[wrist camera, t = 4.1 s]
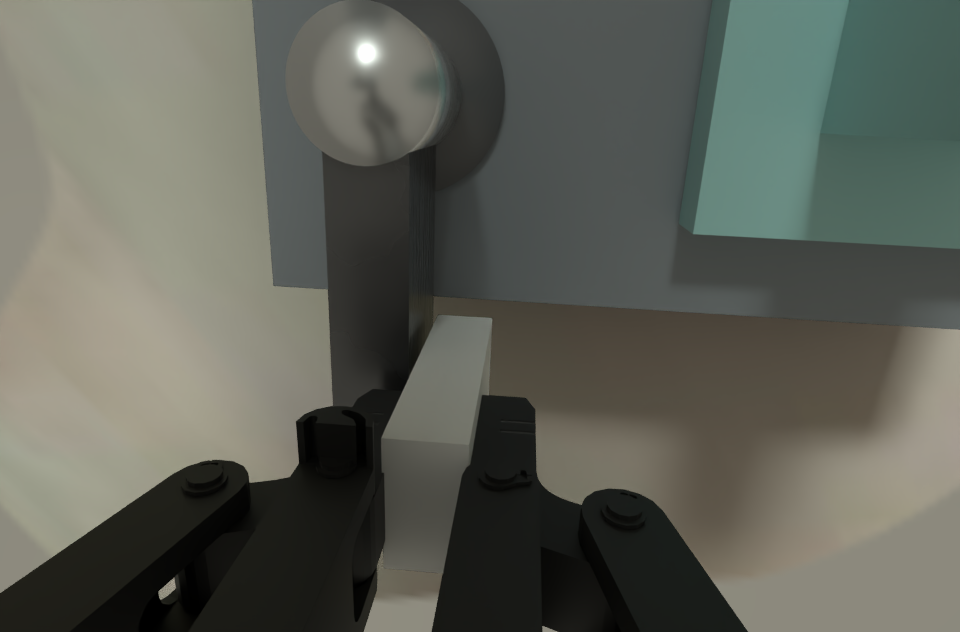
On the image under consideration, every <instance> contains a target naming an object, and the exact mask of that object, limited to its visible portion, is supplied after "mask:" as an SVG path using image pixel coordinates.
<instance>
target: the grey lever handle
mask: <svg viewBox="0 0 960 632" xmlns="http://www.w3.org/2000/svg"><path fill="white" fill-rule="evenodd" d="M285 83H286V92H287V97H288V101H289V105H290V108H291V110H292V113H293V116H294V118H295V119H296V121H297V123H298V125H299V127H300V128H301V130H302V131H303V133H304V134H305V135H306V136H307V138H308V139H309V140H310V141H311V142H312V143H313V144H314V145H315V146H316V147H317V148H319V149H320V150H321V151H322V162H323V185H324V208H325V231H326V254H327V277H328V300H329V323H330V346H331V369H332V392H333V406H348V407H353V405H354V404H355V402H356V400H357V399H358V398H359V397H361V396H362V395H364V394H365V393H367V392H369V391H370V390H372V389H381V390H396V391H403V390H404V387H405V385H406V383H407V381H408V379H409V377H410V374H411V372H412V370H413V368H414V366H415V364H416V361H417V359H418V357H419V355H420V353H421V351H422V348H423V346H424V344H425V342H426V340H427V338H428V335H429V333H430V331H431V329H432V327H433V296H434V237H435V178H436V145H437V144H439V143H440V142H441V141H442V140H443V139H445V137H446V136H447V135H448V134H449V133H450V131H451V130H452V129H453V127H454V125H455V123H456V121H457V119H458V116H459V113H460V109H461V104H462V86H461V80H460V76H459V73H458V70H457V68H456V65H455V64H454V62H453V60H452V58H451V57H450V56H449V54H448V53H447V52H446V51H445V50H444V48H443V47H442V46H441V45H439V44H438V43H437V42H436V41H434V40H433V39H432V38H431V37H429V36H428V35H427V34H426V33H424V32H423V31H422V30H421V29H419V28H418V27H417V26H416V25H414V24H413V23H412V22H411V21H410V20H408V19H407V18H406V17H404V16H403V15H402V14H401V13H399V12H398V11H396V10H394V9H392V8H391V7H389V6H386V5H384V4H381V3H378V2H374V1H371V0H345V1H340V2H337V3H334V4H331V5H329V6H327V7H325V8H323V9H321V10H319V11H318V12H317V13H315V14H314V15H313V16H312V17H311V18H310V19H309V20H308V21H307V22H306V23H305V24H304V25H303V26H302V28H301V29H300V30H299V32H298V33H297V35H296V37H295V39H294V41H293V43H292V46H291V48H290V51H289V55H288V59H287V64H286V72H285Z"/></svg>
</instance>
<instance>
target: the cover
mask: <svg viewBox="0 0 960 632" xmlns="http://www.w3.org/2000/svg"><path fill="white" fill-rule="evenodd" d="M679 224H680V225H681V226H682V227H684V228H685V229H687V230H688V231H689V232H691V233H692V234H700V235H718V236H736V237H754V238H772V239H790V240H808V241H826V242H844V243H862V244H880V245H898V246H916V247H934V248H952V249H960V0H712V7H711V13H710V20H709V27H708V33H707V40H706V46H705V53H704V60H703V66H702V73H701V79H700V86H699V93H698V99H697V106H696V112H695V119H694V126H693V132H692V139H691V145H690V152H689V159H688V165H687V172H686V178H685V185H684V192H683V198H682V205H681V211H680V218H679Z"/></svg>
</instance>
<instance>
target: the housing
mask: <svg viewBox="0 0 960 632" xmlns="http://www.w3.org/2000/svg"><path fill="white" fill-rule="evenodd" d="M340 1H345V0H252V4H253V17H254V30H255V44H256V57H257V71H258V84H259V98H260V111H261V124H262V138H263V151H264V165H265V178H266V192H267V205H268V218H269V232H270V245H271V259H272V272H273V286H283V287H299V288H314V289H328V277H327V254H326V231H325V208H324V185H323V162H322V151H321V150H320V149H319V148H317V147H316V146H315V145H314V144H313V143H312V142H311V141H310V140H309V139H308V138H307V136H306V135H305V134H304V133H303V131H302V130H301V128H300V127H299V125H298V123H297V121H296V119H295V118H294V116H293V113H292V110H291V108H290V105H289V101H288V97H287V92H286V83H285V72H286V64H287V59H288V55H289V51H290V48H291V46H292V43H293V41H294V39H295V37H296V35H297V33H298V32H299V30H300V29H301V28H302V26H303V25H304V24H305V23H306V22H307V21H308V20H309V19H310V18H311V17H312V16H313V15H314V14H315V13H317V12H318V11H319V10H321V9H323V8H325V7H327V6H329V5H331V4H334V3H337V2H340ZM371 1H374V2H378V3H381V4H384V5H386V6H389V7H391V8H392V9H394V10H396V11H398V12H399V13H401V14H402V15H403V16H404V17H406V18H407V19H408V20H410V21H411V22H412V23H413V24H414V25H416V26H417V27H418V28H419V29H421V30H422V31H423V32H424V33H426V34H427V35H428V36H429V37H431V38H432V39H433V40H434V41H436V42H437V43H438V44H439V45H441V46H442V47H443V48H444V50H445V51H446V52H447V53H448V54H449V56H450V57H451V58H452V60H453V62H454V64H455V65H456V68H457V70H458V73H459V76H460V80H461V86H462V104H461V109H460V113H459V116H458V119H457V121H456V123H455V125H454V127H453V129H452V130H451V131H450V133H449V134H448V135H447V136H446V137H445V139H443V140H442V141H441V142H440V143H439V144H437V145H436V178H435V237H434V296H440V297H456V298H471V299H487V300H503V301H518V302H534V303H550V304H566V305H581V306H597V307H613V308H628V309H644V310H660V311H675V312H691V313H707V314H723V315H738V316H754V317H770V318H785V319H801V320H817V321H833V322H848V323H864V324H880V325H895V326H911V327H927V328H942V329H958V330H960V249H952V248H934V247H916V246H898V245H880V244H862V243H844V242H826V241H808V240H790V239H772V238H754V237H736V236H718V235H700V234H692V233H691V232H689V231H688V230H687V229H685V228H684V227H682V226H681V225H680V224H679V218H680V211H681V205H682V198H683V192H684V185H685V178H686V172H687V165H688V159H689V152H690V145H691V139H692V132H693V126H694V119H695V112H696V106H697V99H698V93H699V86H700V79H701V73H702V66H703V60H704V53H705V46H706V40H707V33H708V27H709V20H710V13H711V7H712V0H371Z"/></svg>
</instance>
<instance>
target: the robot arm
mask: <svg viewBox="0 0 960 632" xmlns="http://www.w3.org/2000/svg"><path fill="white" fill-rule="evenodd" d="M491 339H492V318H484V317H467V316H451V315H438V316H437V318H436V320H435V322H434V325H433V327H432V329H431V331H430V333H429V335H428V338H427V340H426V342H425V344H424V346H423V348H422V351H421V353H420V355H419V357H418V359H417V361H416V364H415V366H414V368H413V370H412V372H411V374H410V377H409V379H408V381H407V383H406V385H405V387H404V390H403V391H396V390H381V389H372V390H370V391H369V392H367V393H365V394H364V395H362V396H361V397H359V398H358V399H357V400H356V402H355V404H354V405H353V407H348V406H330V407H325V408H321V409H316V410H314V411H311V412H309V413H307V414H304V415H303V416H302V417H301V418H300V419H298V420H297V421H296V427H297V440H298V454H299V464H298V466H297V467H296V469H295V470H294V472H293V473H292V475H291V477H288V478H284V479H278V480H272V481H263V482H255V483H249V476H248V472H247V471H246V469H245V468H244V466H242V465H240V464H238V463H235V462H233V461H224V460H212V461H203V462H200V463H197V464H194V465H191V466H187V467H185V468H184V469H182V470H180V471H178V472H176V473H174V474H172V475H171V476H170V477H168V478H167V479H165V480H164V481H162V482H161V483H159V484H158V485H156V486H155V487H154V488H152V489H151V490H149V491H148V492H146V493H145V494H143V495H142V496H141V497H139V498H138V499H136V500H135V501H133V502H132V503H130V504H129V505H127V506H126V507H125V508H123V509H122V510H120V511H119V512H117V513H116V514H114V515H113V516H112V517H110V518H109V519H107V520H106V521H104V522H103V523H101V524H100V525H98V526H97V527H96V528H94V529H93V530H91V531H90V532H88V533H87V534H85V535H84V536H83V537H81V538H80V539H78V540H77V541H75V542H74V543H72V544H71V545H69V546H68V547H67V548H65V549H64V550H62V551H61V552H59V553H58V554H56V555H55V556H54V557H52V558H51V559H49V560H48V561H46V562H45V563H43V564H42V565H40V566H39V567H38V568H36V569H35V570H33V571H32V572H30V573H29V574H28V575H26V576H25V577H23V578H22V579H20V580H19V581H17V582H16V583H15V584H13V585H12V586H10V587H9V588H7V589H6V590H4V591H3V592H2V593H0V632H364V628H365V625H366V622H367V619H368V616H369V613H370V610H371V607H372V603H373V600H374V597H375V594H376V591H377V563H378V560H379V558H380V555H381V552H382V549H383V562H384V568H386V569H397V570H408V571H420V572H431V573H442V574H443V576H442V581H441V586H440V591H439V596H438V602H437V607H436V612H435V618H434V622H433V628H432V632H542V626H545V627H548V628H550V629H553V630H555V631H558V632H748V631H747V630H746V628H745V627H744V625H743V624H742V623H741V621H740V620H739V618H738V617H737V616H736V614H735V613H734V611H733V610H732V608H731V607H730V606H729V604H728V603H727V601H726V600H725V598H724V597H723V596H722V595H721V593H720V591H719V590H718V589H717V587H716V586H715V584H714V583H713V581H712V580H711V579H710V577H709V576H708V574H707V573H706V572H705V570H704V569H703V567H702V566H701V564H700V563H699V562H698V560H697V559H696V557H695V556H694V554H693V553H692V552H691V550H690V549H689V547H688V546H687V545H686V543H685V542H684V540H683V539H682V537H681V536H680V535H679V533H678V532H677V530H676V529H675V527H674V526H673V525H672V523H671V522H670V520H669V519H668V518H667V516H666V515H665V513H664V512H663V511H662V510H661V509H660V508H659V507H658V506H657V505H656V504H655V503H654V502H653V501H651V500H650V499H648V498H646V497H644V496H642V495H640V494H638V493H634V492H631V491H627V490H623V489H605V490H600V491H595V492H593V493H592V494H590V495H589V496H587V497H586V498H585V499H584V502H583V504H582V505H579V504H576V503H573V502H569V501H567V500H564V499H562V498H559V497H557V496H555V495H554V494H552V493H550V492H549V491H548V490H547V489H545V488H544V487H543V486H542V485H541V483H540V481H539V480H538V477H537V473H536V434H535V432H536V431H535V409H534V407H533V406H532V405H531V404H530V402H529V401H528V400H527V399H526V398H520V397H506V396H492V395H489V382H490V361H491ZM173 578H175V584H176V589H175V590H174V591H173V592H172V593H171V594H169V595H168V596H167V597H165V598H164V599H162V600H160V598H159V594H158V591H159V590H160V589H161V588H163V587H164V586H165V585H166V584H167V583H168V582H169V581H170V580H172V579H173Z"/></svg>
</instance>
